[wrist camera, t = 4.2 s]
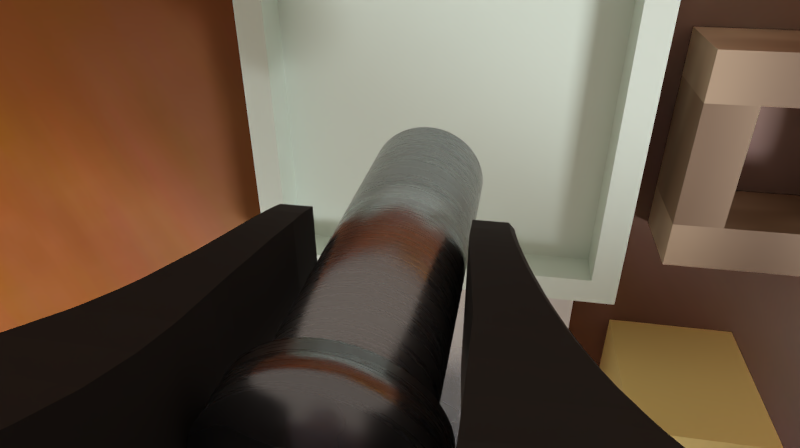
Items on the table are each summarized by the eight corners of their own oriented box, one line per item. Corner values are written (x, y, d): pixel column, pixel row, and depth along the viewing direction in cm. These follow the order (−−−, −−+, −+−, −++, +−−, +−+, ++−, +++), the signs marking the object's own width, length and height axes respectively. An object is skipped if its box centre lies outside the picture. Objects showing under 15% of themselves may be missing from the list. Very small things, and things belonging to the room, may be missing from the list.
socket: (945, 35, 15) (1010, 61, 13) (856, 238, 18) (898, 285, 16) (693, 26, 16) (718, 49, 14) (647, 222, 19) (663, 264, 17)
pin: (500, 116, 12) (446, 411, 6) (493, 242, 14) (445, 588, 7) (356, 110, 13) (159, 373, 6) (365, 232, 14) (214, 544, 8)
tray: (685, -112, 15) (704, -109, 13) (607, 271, 20) (614, 304, 19) (246, -112, 16) (217, -110, 15) (285, 242, 22) (268, 270, 21)
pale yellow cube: (731, 331, 21) (784, 450, 17) (702, 414, 23) (743, 539, 19) (609, 318, 21) (630, 430, 17) (591, 400, 23) (606, 519, 19)
